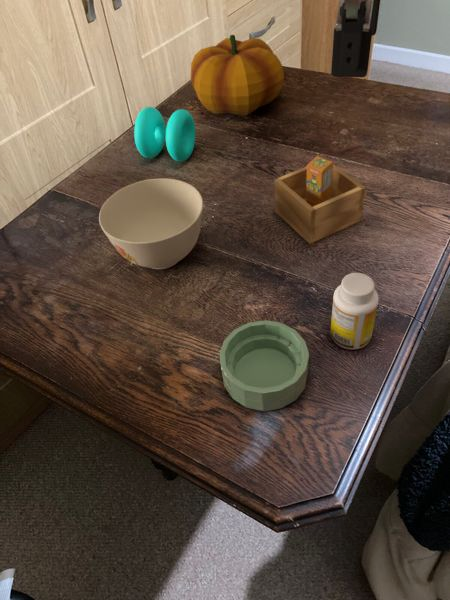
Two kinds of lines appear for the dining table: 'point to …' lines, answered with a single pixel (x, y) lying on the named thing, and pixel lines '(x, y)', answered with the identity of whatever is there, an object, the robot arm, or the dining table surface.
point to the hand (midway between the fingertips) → (354, 53)
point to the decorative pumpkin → (236, 76)
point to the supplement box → (318, 181)
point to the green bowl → (264, 365)
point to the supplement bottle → (354, 311)
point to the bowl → (153, 221)
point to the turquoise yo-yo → (165, 133)
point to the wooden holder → (324, 215)
